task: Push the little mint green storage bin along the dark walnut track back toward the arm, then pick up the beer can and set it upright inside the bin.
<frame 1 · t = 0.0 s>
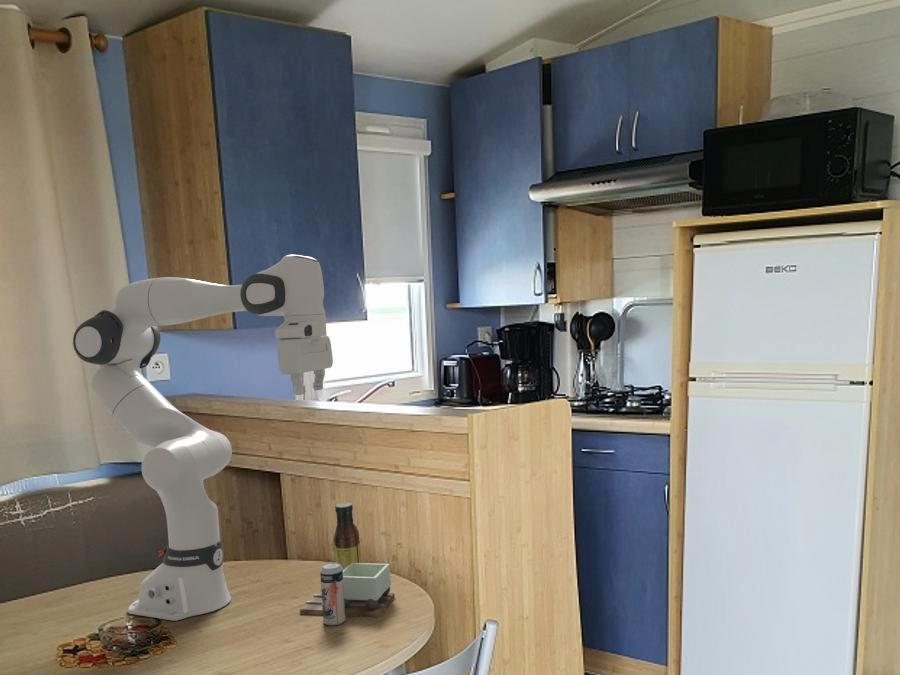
hand: (309, 392, 161), 48 cm above the table, tool pointing down, fingers open, 8 cm apart
sauce bottle: (350, 587, 176), on the table
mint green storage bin: (363, 585, 163), point 5 cm above the table, slide at 8.0 cm
beer can: (334, 623, 155), on the table
walnut track: (348, 605, 164), on the table
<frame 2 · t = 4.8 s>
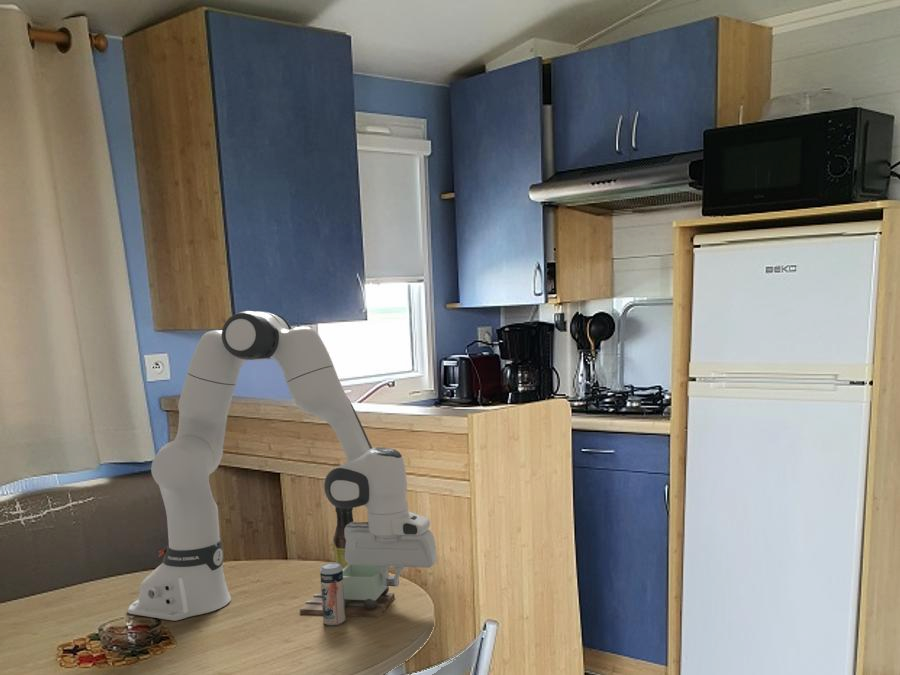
hand: (391, 585, 161), 5 cm above the table, tool pointing down, fingers closed
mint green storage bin: (362, 585, 163), point 5 cm above the table, slide at 7.7 cm, touching gripper
everything else where it was.
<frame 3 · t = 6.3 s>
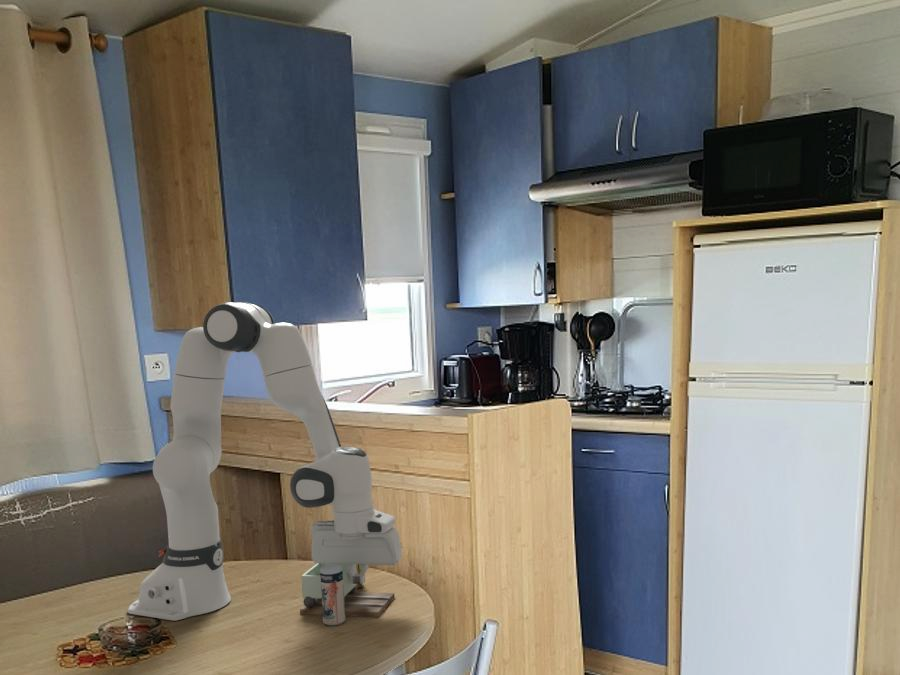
hand: (358, 583, 163), 5 cm above the table, tool pointing down, fingers closed
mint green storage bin: (330, 584, 165), point 5 cm above the table, slide at 0.0 cm, touching gripper
everything else where it was.
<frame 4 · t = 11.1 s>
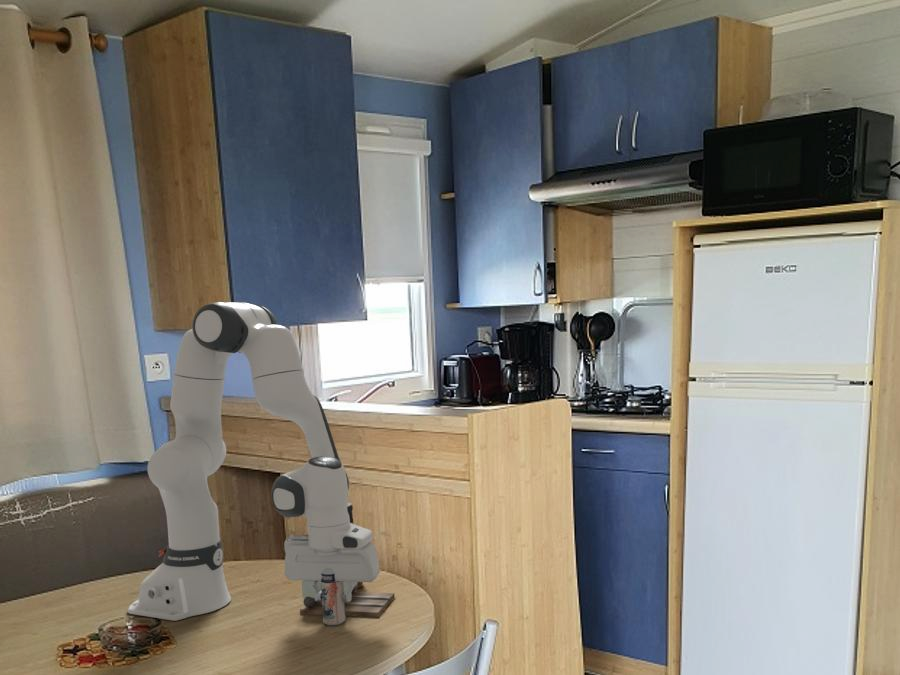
hand: (333, 600, 155), 5 cm above the table, tool pointing down, fingers closed on beer can, 5 cm apart
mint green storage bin: (330, 584, 165), point 5 cm above the table, slide at 0.0 cm
beer can: (334, 623, 155), on the table, touching gripper
everything else where it was.
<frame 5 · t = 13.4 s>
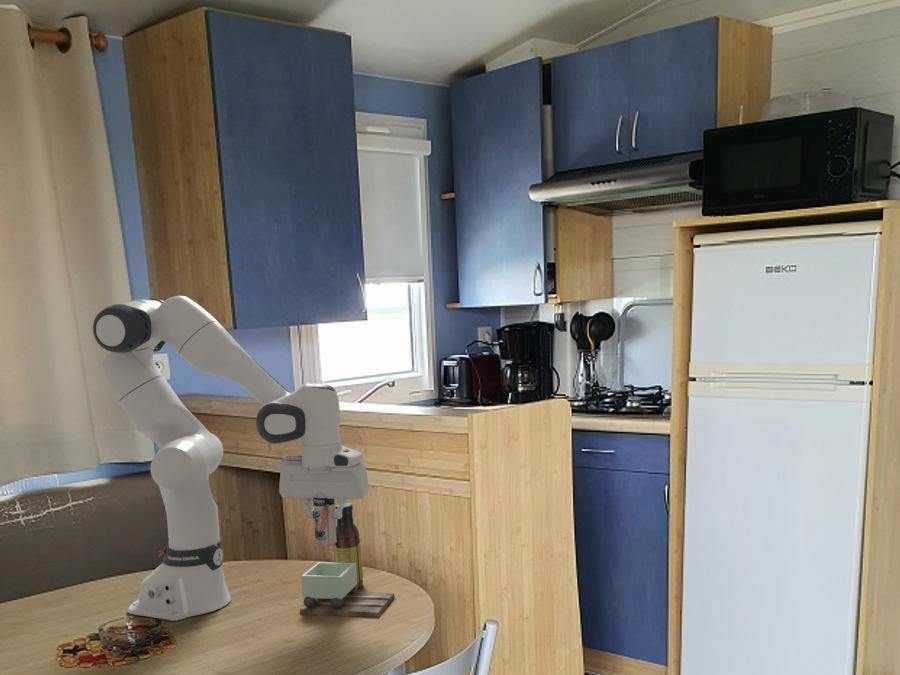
hand: (324, 517, 164), 20 cm above the table, tool pointing down, fingers closed on beer can, 5 cm apart
beer can: (326, 544, 164), point 14 cm above the table, touching gripper
everything else where it was.
when the fingers open (10 cm above the table, at t = 15.8 s): beer can stays where it is, resting on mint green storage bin.
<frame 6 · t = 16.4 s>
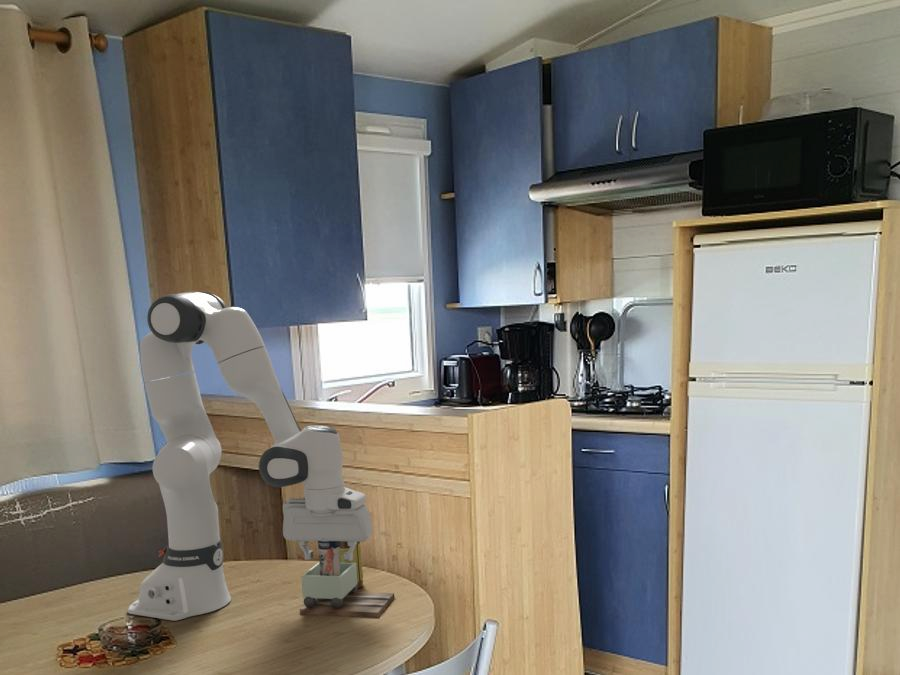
hand: (328, 559, 165), 10 cm above the table, tool pointing down, fingers open, 8 cm apart
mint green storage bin: (330, 584, 165), point 5 cm above the table, slide at 0.0 cm, touching beer can
beer can: (331, 587, 165), point 4 cm above the table, touching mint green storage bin
everything else where it was.
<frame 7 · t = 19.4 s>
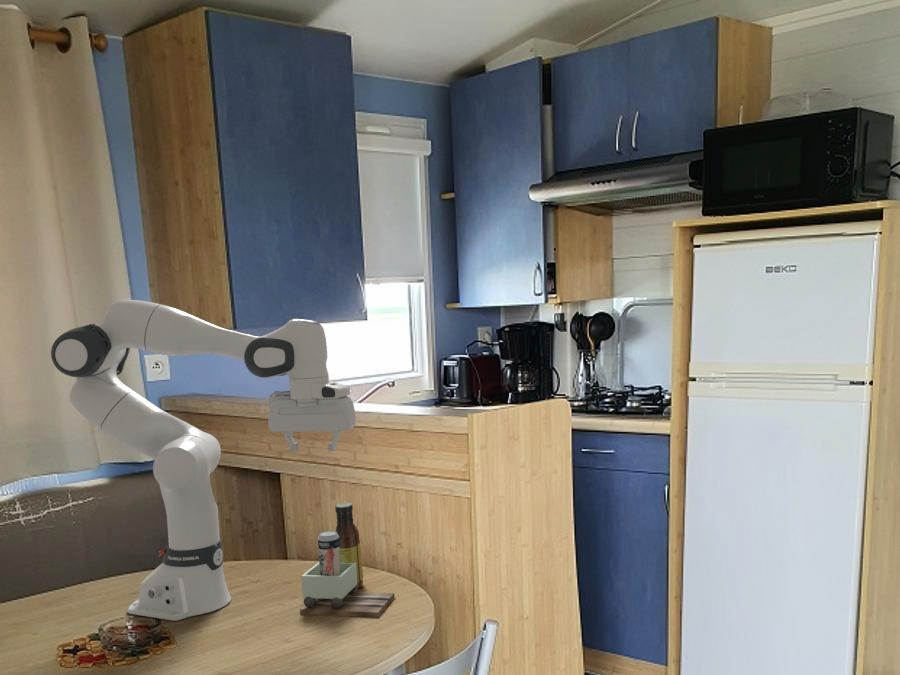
hand: (313, 450, 168), 34 cm above the table, tool pointing down, fingers open, 8 cm apart
nothing on the table moved.
at the end: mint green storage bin slide at 0.0 cm; beer can 0.2 cm off-centre on the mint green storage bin, point 3.8 cm above the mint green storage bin's base; beer can tilted 0° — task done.
